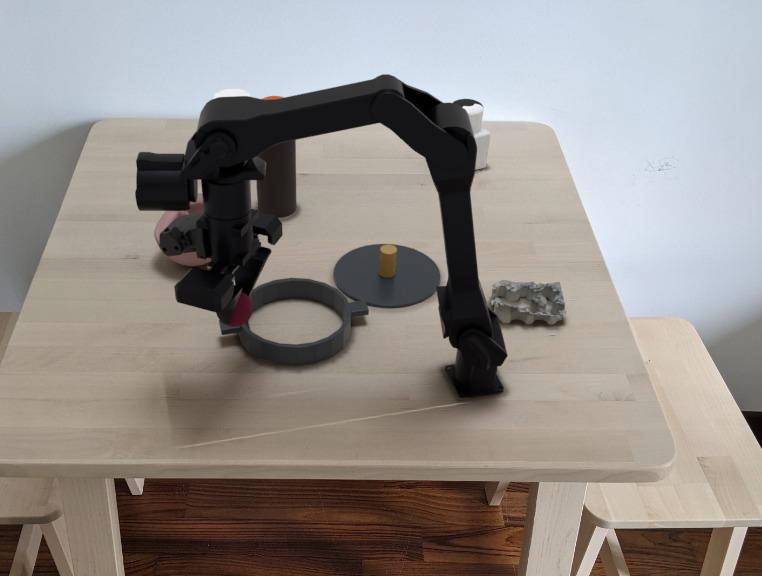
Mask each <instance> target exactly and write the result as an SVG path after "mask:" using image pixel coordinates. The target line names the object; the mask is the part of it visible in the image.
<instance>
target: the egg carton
mask: <svg viewBox="0 0 762 576" xmlns="http://www.w3.org/2000/svg"><path fill="white" fill-rule="evenodd" d="M490 289H492V290H491V295H490V297H491V298H490V305H491V306H494V307H493V311H494V312H495V313H496V314H497V315H498V318H499V322H501V323H502V324H510V323H511V321H513V320H519V321H522V322H523V323H524V324H525V325H532V324H533V323H534V322H535V321H544V322H545V323H546V324H548V325H556V323H557V322H559V321H562V320H563V316H564V315H567V310H566V302H565V299H564V292H563V291H562V285H561V282H560V281H556V282H547V283H542V282H538V283H536V281H527V282H526V281H517V282H516V281H511V280H507V279H501V280H499V281H497V282H495V283H493V284H492V285H491V287H490ZM500 297H503V298H504V299H505V300H506V301H507V302H508V301H509V302H517V301H518V300H519V299H520V298H526V299H527V300H528V301H530V304H529V308H528V307H526V306H524V307H520V306H518V305H516V306H515V305H513V304H510V303H504V302H502V300H501V298H500ZM547 299H549V301H551V302H552V307H551V312H552V313H551V312H549V311H548V310H546V308H547V304H548V300H547Z"/></svg>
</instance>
